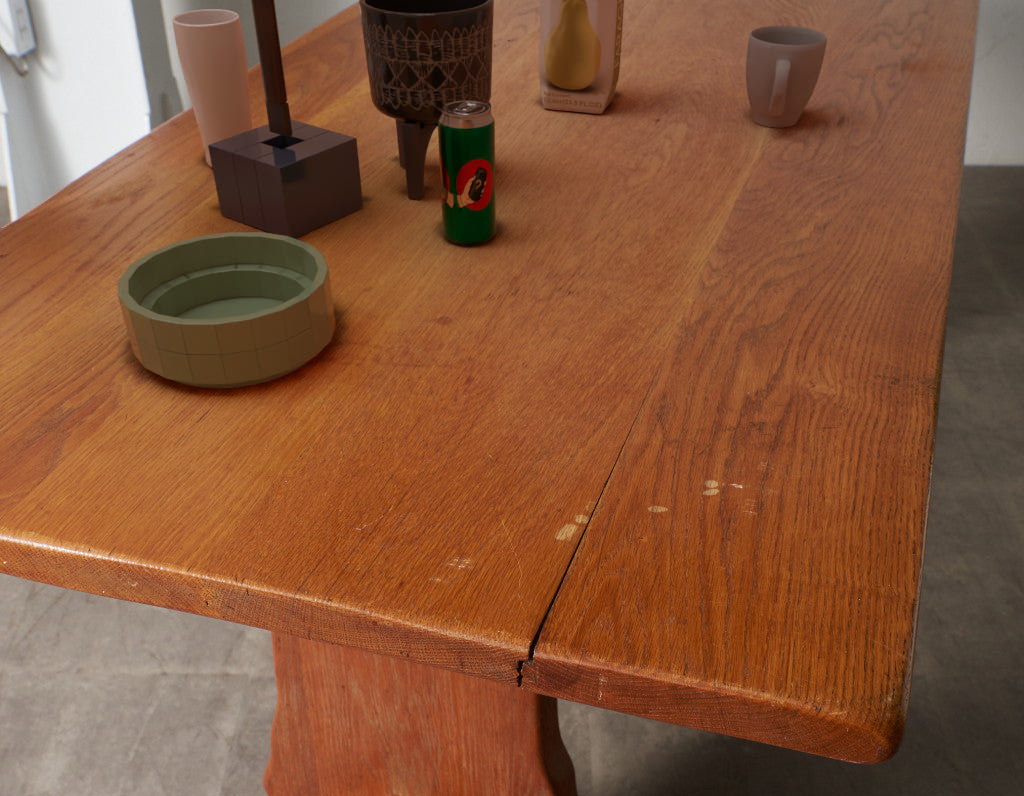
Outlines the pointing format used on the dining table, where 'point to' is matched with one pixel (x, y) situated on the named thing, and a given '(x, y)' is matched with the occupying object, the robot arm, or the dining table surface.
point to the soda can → (467, 172)
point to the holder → (287, 178)
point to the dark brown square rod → (272, 66)
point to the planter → (425, 67)
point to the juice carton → (579, 53)
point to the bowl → (228, 308)
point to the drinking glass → (214, 72)
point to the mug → (782, 72)
